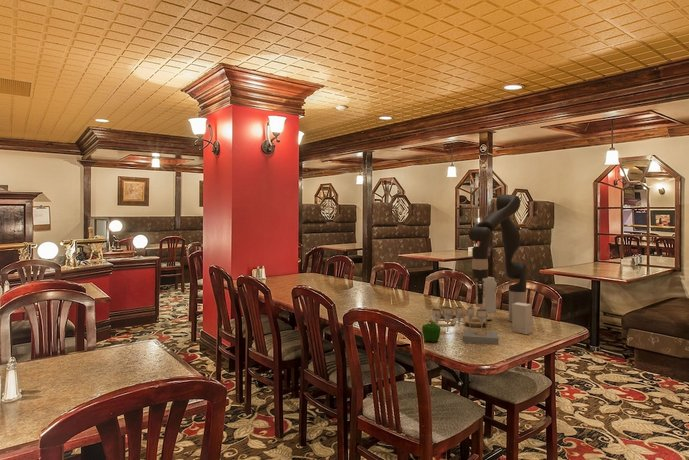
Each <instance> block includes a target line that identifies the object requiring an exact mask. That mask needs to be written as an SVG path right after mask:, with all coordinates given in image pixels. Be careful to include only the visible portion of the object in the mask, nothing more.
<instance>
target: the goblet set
mask: <svg viewBox="0 0 689 460" xmlns="http://www.w3.org/2000/svg"><path fill="white" fill-rule="evenodd" d="M440 309H441V308H440ZM440 309H438V308H433V309H432V310H431V315H432V316H431V318H433V319H434V320H435V322H436V325H437V323H438V321H439V319H441V318H442V317H441V310H443V316H444V318H443V319H446V321H447V326H446V327H447V328H446V329H447V332H448V331H449V326H448V323H449V320H452V318H451V317H452V315H453V311H455V314H456V315H455V317H456V319H457V320H456V321H457V323H458V326H461V325H460V324H461V320H462V317H463V311H464V310H463V307H461V306H457V307H455V310H453V307H451V306H444V307H442V309H441V310H440ZM474 310H475V309H474V307H467V308H466V315H467V316H468V319H469V321H470V326H469V330H472V326H471V321H472V318H473V316H474V315H476V317H477V319H478V320H479V321H480V322H481V326H480V327H481V331H479V332H477V334H476V335H486V332H485V331H483V322H484V321H485V320H486V319H487V317H489V316H488V315H489V313H487V311H486V310H484V309H480V308H479V309H476V313H475V311H474ZM456 332H457V333H463V332H462V331H456Z"/></svg>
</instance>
